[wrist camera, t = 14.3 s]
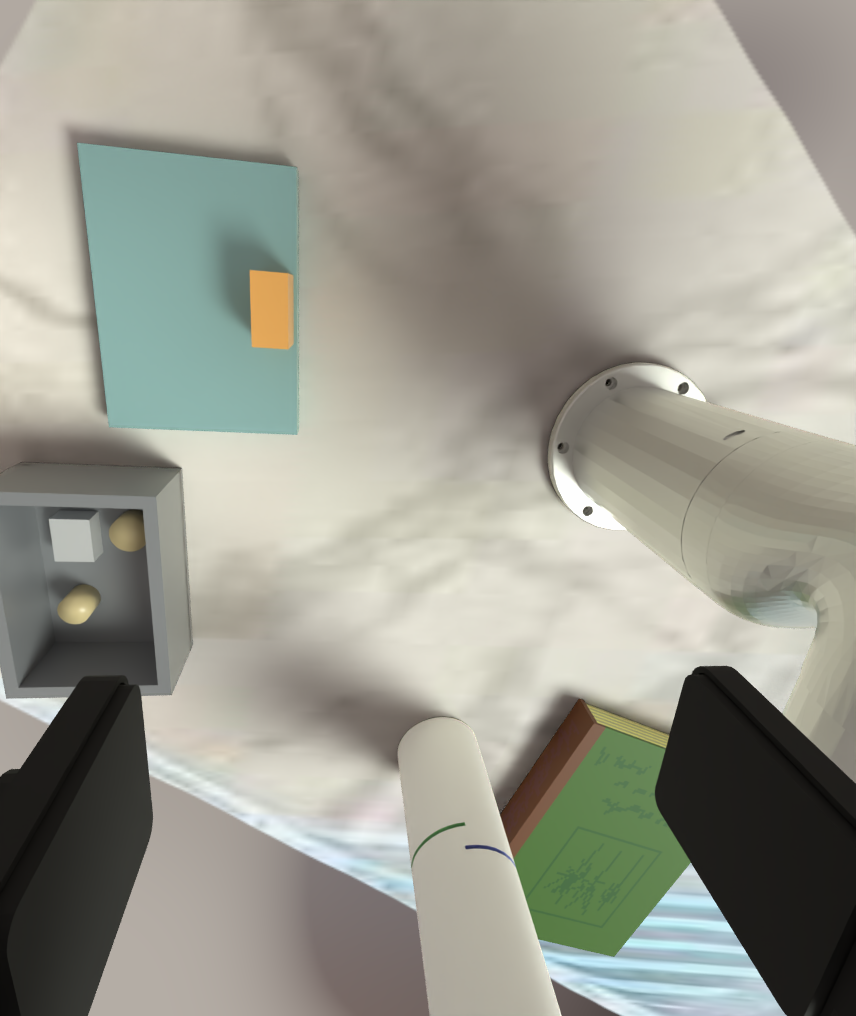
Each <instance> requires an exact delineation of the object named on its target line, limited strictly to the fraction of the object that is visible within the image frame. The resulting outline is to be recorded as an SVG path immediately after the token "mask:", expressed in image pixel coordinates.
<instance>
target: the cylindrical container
mask: <svg viewBox="0 0 856 1016" xmlns="http://www.w3.org/2000/svg"><path fill="white" fill-rule="evenodd" d="M397 755H398V763H399V771H400V779H401V787H402V795H403V804H404V812H405V820H406V828H407V836H408V844H409V852H410V860H411V868H412V877H413V885H414V893H415V901H416V909H417V917H418V925H419V932H420V941H421V949H422V957H423V965H424V972H425V981H426V989H427V997H428V1005H429V1013H430V1016H561V1012H560V1009H559V1006H558V1003H557V999H556V996H555V993H554V989H553V986H552V983H551V980H550V976H549V973H548V970H547V967H546V963H545V960H544V957H543V954H542V950H541V947H540V944H539V941H538V937H537V934H536V931H535V928H534V924H533V921H532V918H531V915H530V911H529V908H528V905H527V902H526V899H525V895H524V892H523V889H522V886H521V882H520V879H519V876H518V873H517V869H516V866H515V863H514V860H513V856H512V853H511V850H510V846H509V843H508V840H507V837H506V833H505V830H504V827H503V823H502V820H501V817H500V814H499V810H498V807H497V804H496V800H495V797H494V794H493V791H492V787H491V784H490V781H489V778H488V774H487V771H486V768H485V765H484V762H483V758H482V755H481V752H480V749H479V745H478V742H477V739H476V736H475V734H474V732H473V731H472V729H471V728H470V727H469V726H468V725H467V724H465V723H463V722H462V721H460V720H457V719H454V718H448V717H437V718H431V719H428V720H425V721H422V722H420V723H418V724H416V725H415V726H414V727H412V728H411V729H410V730H408V732H407V733H406V734H405V735H404V736H403V738H402V740H401V741H400V744H399V747H398V753H397Z"/></svg>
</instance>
